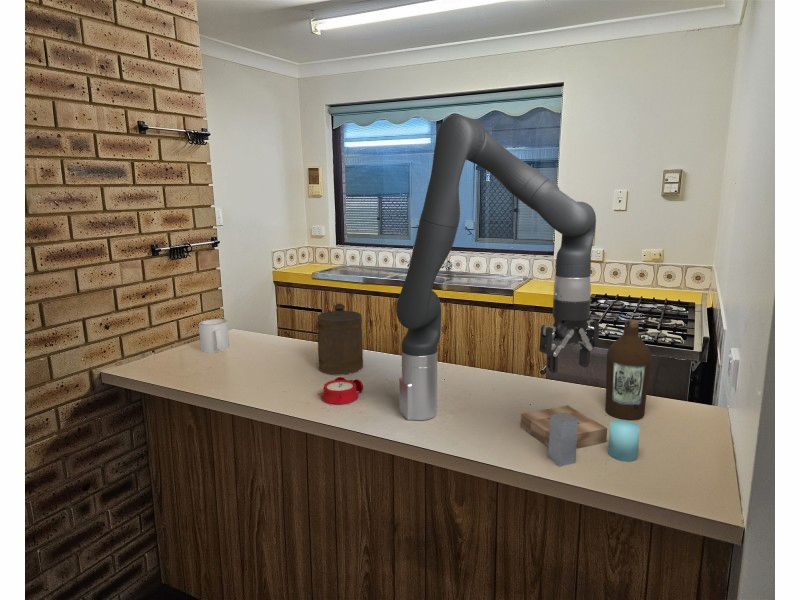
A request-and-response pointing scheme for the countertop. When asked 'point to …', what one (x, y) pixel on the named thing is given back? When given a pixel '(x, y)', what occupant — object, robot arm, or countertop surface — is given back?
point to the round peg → (623, 440)
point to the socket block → (587, 428)
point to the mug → (213, 335)
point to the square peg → (563, 439)
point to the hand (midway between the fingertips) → (568, 368)
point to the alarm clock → (341, 391)
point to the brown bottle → (627, 374)
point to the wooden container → (340, 341)
